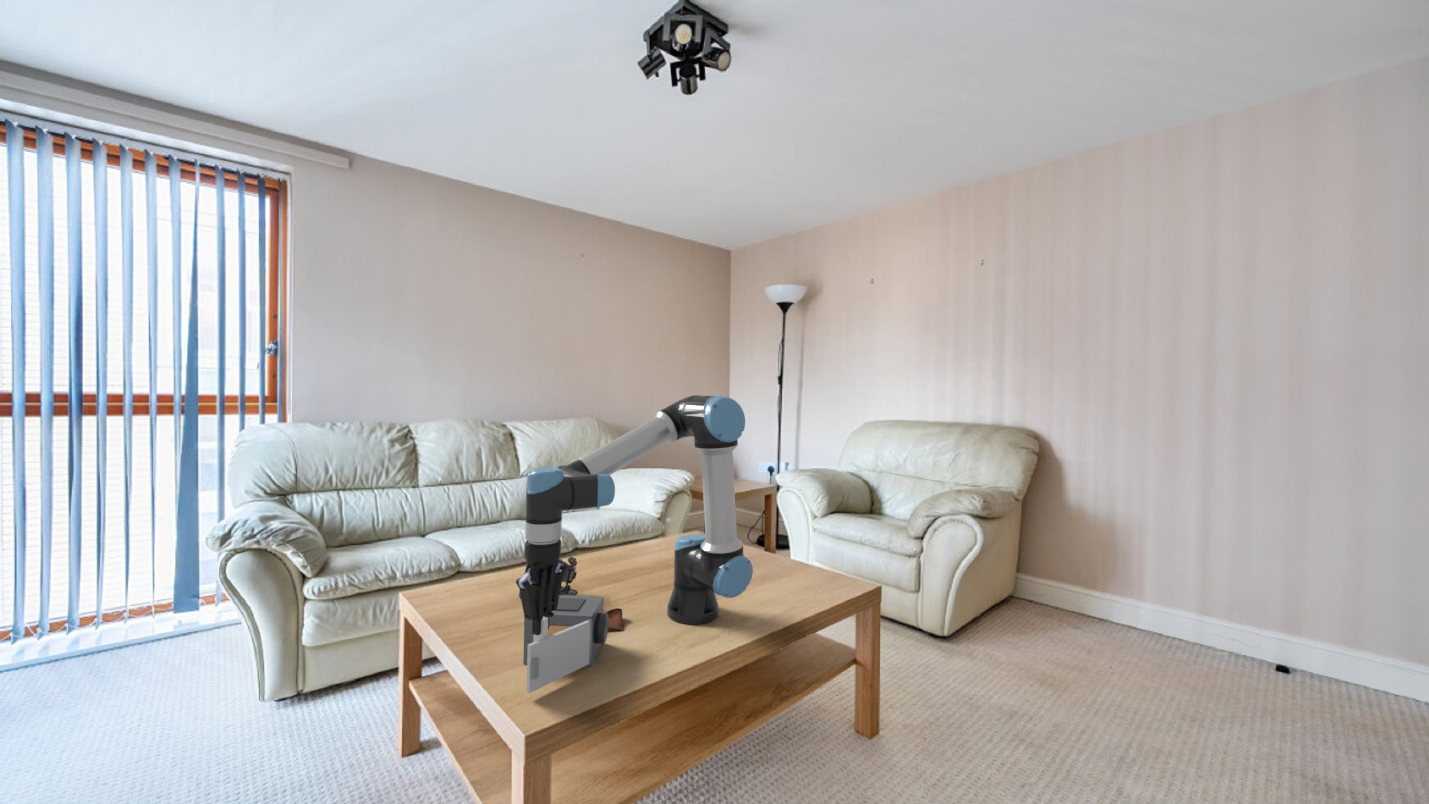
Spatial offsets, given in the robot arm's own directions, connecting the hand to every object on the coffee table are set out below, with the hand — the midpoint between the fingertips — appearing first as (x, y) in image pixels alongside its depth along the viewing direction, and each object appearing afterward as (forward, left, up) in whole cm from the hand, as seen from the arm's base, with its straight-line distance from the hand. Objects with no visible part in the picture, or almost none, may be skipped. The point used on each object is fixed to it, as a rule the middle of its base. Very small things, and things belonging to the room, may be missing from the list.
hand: (540, 646), depth 116 cm
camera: (+15, -51, -9) cm, 54 cm away
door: (-4, -2, -8) cm, 9 cm away
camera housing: (-2, -15, -9) cm, 18 cm away
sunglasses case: (-4, -30, -10) cm, 32 cm away
